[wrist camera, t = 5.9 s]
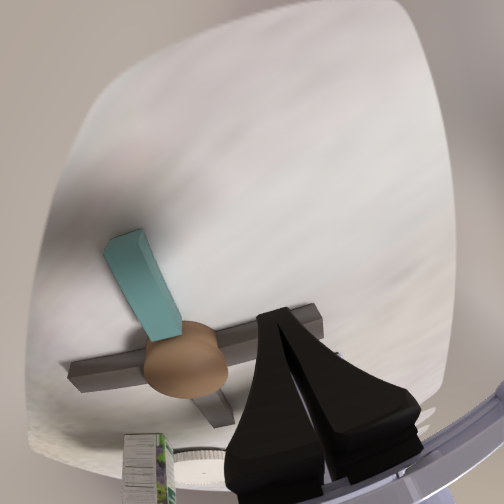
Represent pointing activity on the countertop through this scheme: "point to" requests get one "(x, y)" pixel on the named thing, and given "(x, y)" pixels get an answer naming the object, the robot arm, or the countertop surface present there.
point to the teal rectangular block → (143, 285)
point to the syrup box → (148, 470)
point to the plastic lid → (199, 467)
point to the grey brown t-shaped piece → (185, 364)
